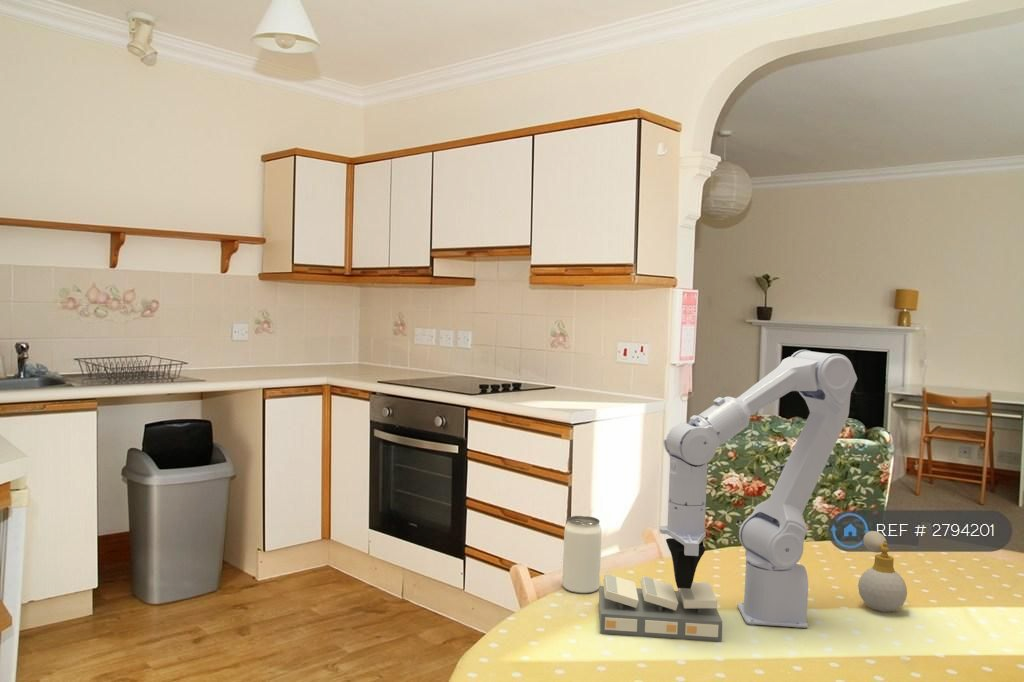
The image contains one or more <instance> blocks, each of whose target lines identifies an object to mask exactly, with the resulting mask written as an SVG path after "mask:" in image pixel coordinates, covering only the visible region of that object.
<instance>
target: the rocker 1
mask: <svg viewBox="0 0 1024 682" xmlns="http://www.w3.org/2000/svg"><path fill="white" fill-rule="evenodd" d="M602 581H603V586H604V595H605V598H606V599H609V600H612V601H616V602H619V603H622V604H625V605H628V606H632V607H635V608H636V607H637V604H638V601H639V600H638V595H637V590H636V588H637V586H636V582H634V581H632V580H629V579H625V578H623V577H619V576H616V575H612V574H609V573H604V577H603V580H602Z"/></svg>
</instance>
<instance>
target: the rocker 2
mask: <svg viewBox="0 0 1024 682" xmlns="http://www.w3.org/2000/svg"><path fill="white" fill-rule="evenodd" d="M677 591H678V592H679V595H680V598H681V601H682V604H683V607H684V608H717V609H718V599H717V596H716V594H715V593H714V590H713V588H712V585H711V584H710V582H709V581H697V582H696V581H695V582H694V581H693V583H692V586H691V588H690V589H686V588H677Z"/></svg>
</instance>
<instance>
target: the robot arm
mask: <svg viewBox="0 0 1024 682" xmlns="http://www.w3.org/2000/svg"><path fill="white" fill-rule="evenodd" d="M857 381H858V377H857V374H856V372H855V369H854V366H853V363H852V362H851V360H850V359H849V358H848V356H846V355H844V354H841V353H827V352H819V351H811V350H808V349H799V350H797V351H795V352H793V354H791V356H788V357H786V358H785V357H784V359H782V360H781V362H780V364H779V365H778V366H777V367H776V368H774V369H773V370H772V371H771V372H769V373H768V374H766V375H765V376H763V378H761V379H760V380H758V382H756V383H754V384H753V385H752V386H751V387H749V388H748V389H747V390H745V391H744V392H743V393H741V394H740V395H739V396H738V397H732V396H725V397H720V396H718V397H716V398H715V399H713V405H710V407H708V408H707V409H705V410H704V411H702V412H701V413H700V414H698V415H697V414H696V415H695V414H693V415H692V416H690V417H689V421H688V423H686V422H684V423H681V422H680V423H677V424H675V425H674V426H673V427H671V429H670V430H669V431H668V432H669V433H667V436H666V439H664V440H663V446H664V449H665V451H666V453H667V454H668V456H669V477H668V479H669V480H668V500H667V501H668V502H667V504H668V505H667V508H668V509H667V524H666V525H665V526H663V525H661V526H659V533H660V534H661V535H667V536H669V537H671V538H666V539H665V541H666V545H667V548H668V550H669V552H670V554H671V559H672V567H673V574H674V580H675V584H676V587H677V589H678V588H686V589H690V588H691V586H692V583H693V582H694V578H695V573H696V571H697V567H698V564H699V563H700V560H701V558H702V556H703V555H704V554H705V551H706V548H705V545H704V542H703V540H704V539H705V538H706V534H707V532H706V531H707V530H706V528H705V527H706V509H707V507H706V506H707V487H708V486H707V483H708V481H707V480H708V463H710V462H711V461H712V460H713V458H714V457H715V454H716V452H717V449H718V448H719V447H720V446H722V445H723V444H724V443H726V442H727V441H729V440H730V439H732V438H733V437H735V436H736V435H738V434H739V433H740V432H742V431H743V430H745V429H746V428H748V427H749V426H750V419H751V416H752V415H754V414H755V413H758V412H759V411H761V410H762V409H764V408H765V407H767V406H769V405H771V404H772V403H773V402H775V401H778V400H779V399H780V398H782V397H784V396H786V395H787V394H789V393H790V392H797V393H799V395H800V396H801V397H802V398H803V400H804V401H805V403H806V405H807V407H808V411H809V414H808V416H807V419H806V420H805V423H804V425H803V427H802V429H801V431H800V433H799V435H798V438H797V440H796V442H795V444H794V446H793V448H792V450H791V452H790V455H789V456H788V458H787V461H786V463H785V465H784V467H783V470H782V472H781V474H780V476H779V477H778V480H777V481H776V484H775V486H774V488H773V489H772V492H771V494H770V496H769V498H767V499H766V500H764V501H762V502H760V503H758V504H756V506H755V508H754V510H753V512H752V513H750V515H749V516H748V517H746V518H745V519H744V521H743V522H742V523H741V525H740V527H739V531H738V539H739V542H740V544H741V546H742V547H743V548H744V549H745V551H744V552H745V554H744V555H745V571H744V572H745V577H744V591H743V592H744V594H743V595H744V596H743V602H737V605H736V606H737V607H738V610H739V612H740V614H741V616H742V618H743V619H744V622H745V623H746V624H747V625H758V626H759V625H761V626H776V627H786V628H787V627H791V628H803V629H804V628H805V629H806V628H808V623H807V620H808V619H807V617H808V616H807V615H808V600H809V599H808V597H809V578H808V576H809V575H808V573H807V570H806V569H807V568H806V567H805V566H804V565H803V564H798V563H799V562H800V560H801V559H802V557H803V553H804V546H805V545H804V543H805V538H806V536H807V533H808V531H809V530H808V527H807V524H806V522H805V521H806V520H805V519H804V511H805V510H806V507H807V505H808V504H809V500H810V498H811V497H812V495H813V492H814V490H815V488H816V486H817V483H818V481H819V480H820V477H821V476H822V473H823V471H824V470H825V467H826V465H827V463H828V460H829V458H830V456H831V454H832V451H833V450H834V448H835V445H836V443H837V442H838V439H839V437H840V435H841V433H842V431H843V428H844V426H845V424H846V422H847V420H848V418H849V414H850V405H851V404H850V403H851V396H852V395H851V393H852V391H853V390H854V387H855V385H856V383H857Z"/></svg>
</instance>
